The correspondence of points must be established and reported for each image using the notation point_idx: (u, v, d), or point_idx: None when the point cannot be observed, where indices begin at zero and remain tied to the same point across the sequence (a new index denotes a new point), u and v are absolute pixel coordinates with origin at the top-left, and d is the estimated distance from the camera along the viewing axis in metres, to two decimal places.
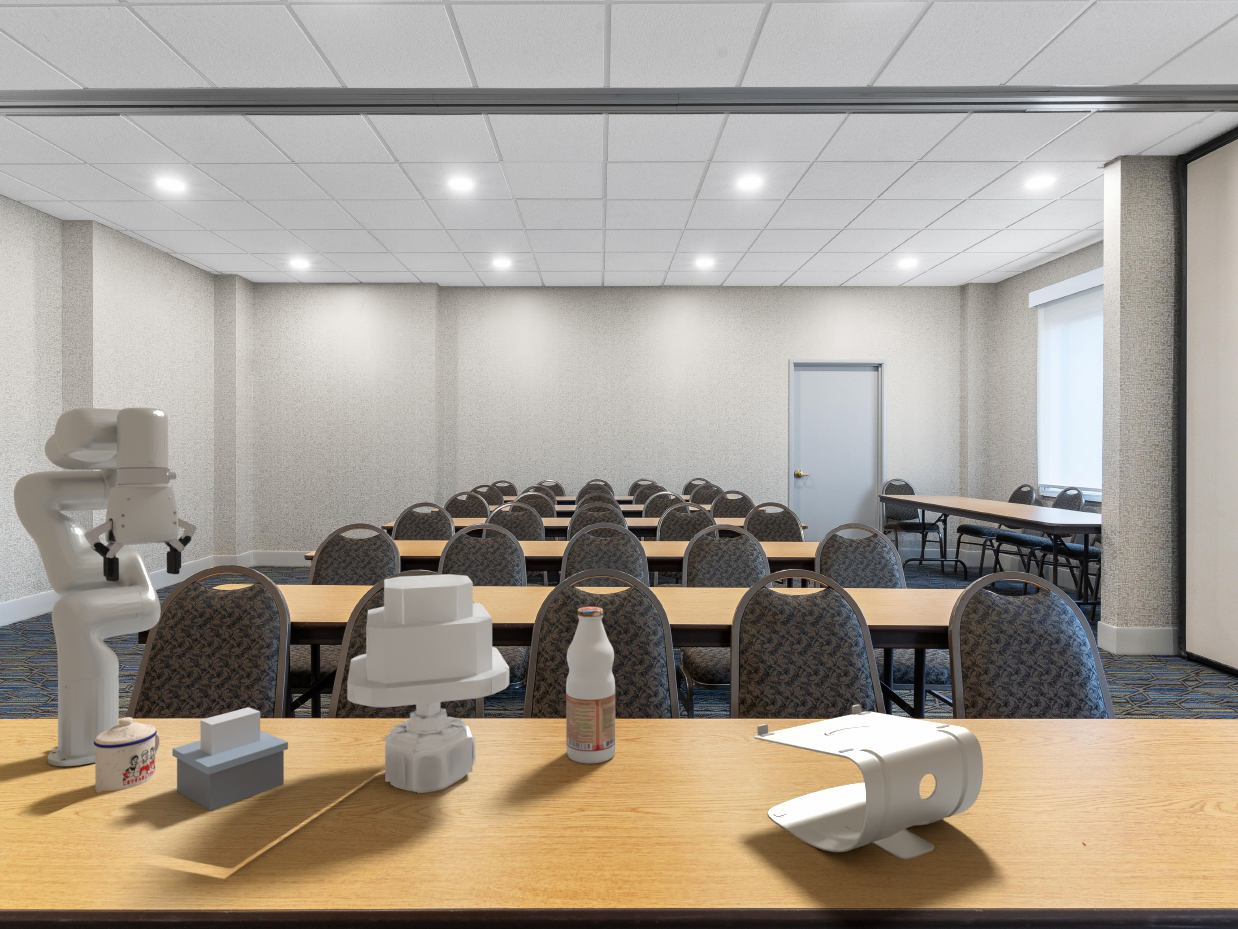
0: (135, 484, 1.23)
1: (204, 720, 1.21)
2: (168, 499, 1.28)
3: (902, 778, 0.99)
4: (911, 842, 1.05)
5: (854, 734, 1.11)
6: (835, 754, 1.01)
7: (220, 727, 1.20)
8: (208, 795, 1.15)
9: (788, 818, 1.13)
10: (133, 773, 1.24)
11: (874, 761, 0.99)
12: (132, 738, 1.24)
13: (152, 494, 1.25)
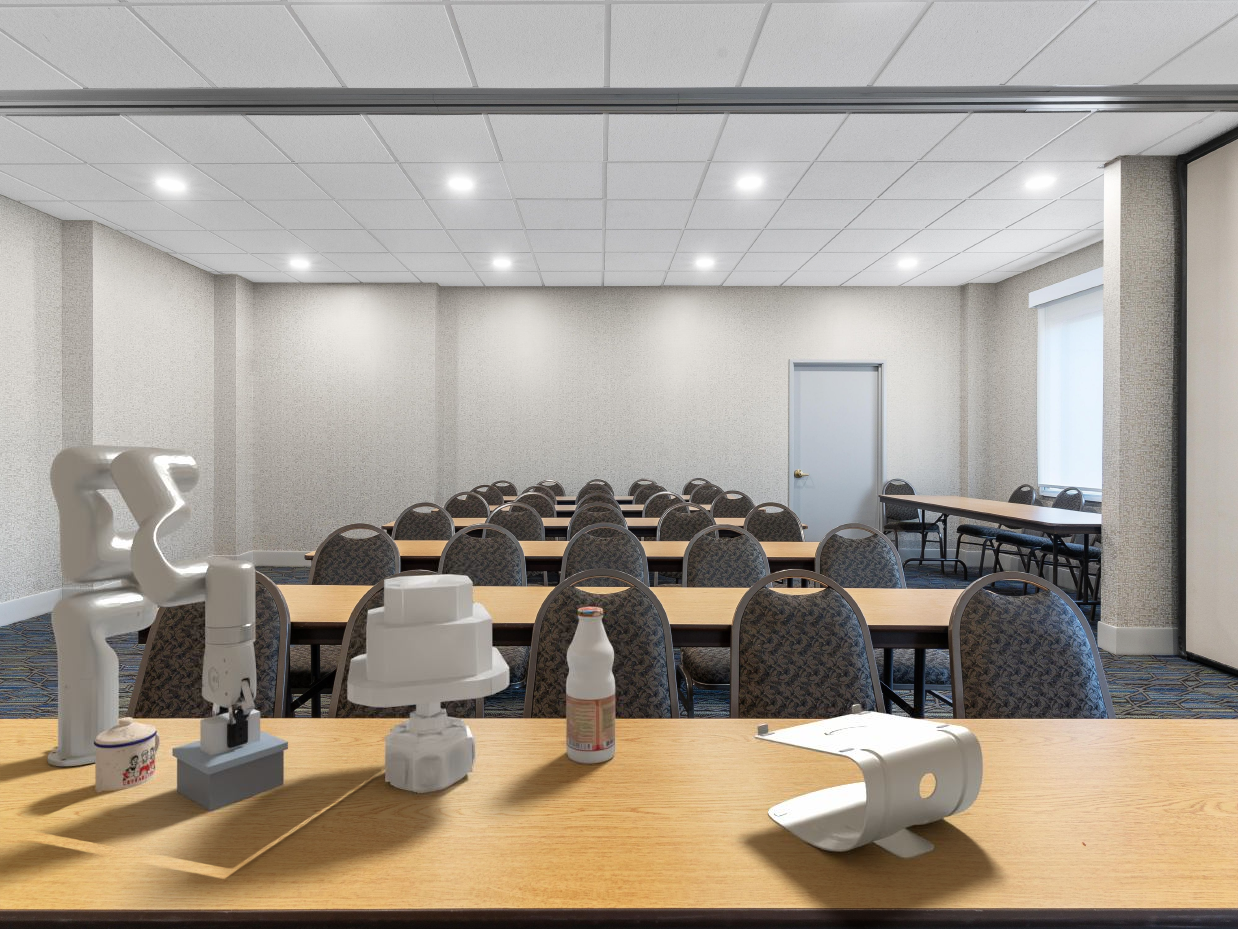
0: (254, 638, 1.24)
1: (204, 720, 1.21)
2: None
3: (902, 777, 0.99)
4: (911, 841, 1.06)
5: (854, 734, 1.11)
6: (835, 754, 1.01)
7: (220, 727, 1.20)
8: (208, 795, 1.15)
9: (788, 818, 1.13)
10: (133, 773, 1.24)
11: (874, 761, 0.99)
12: (132, 738, 1.24)
13: None
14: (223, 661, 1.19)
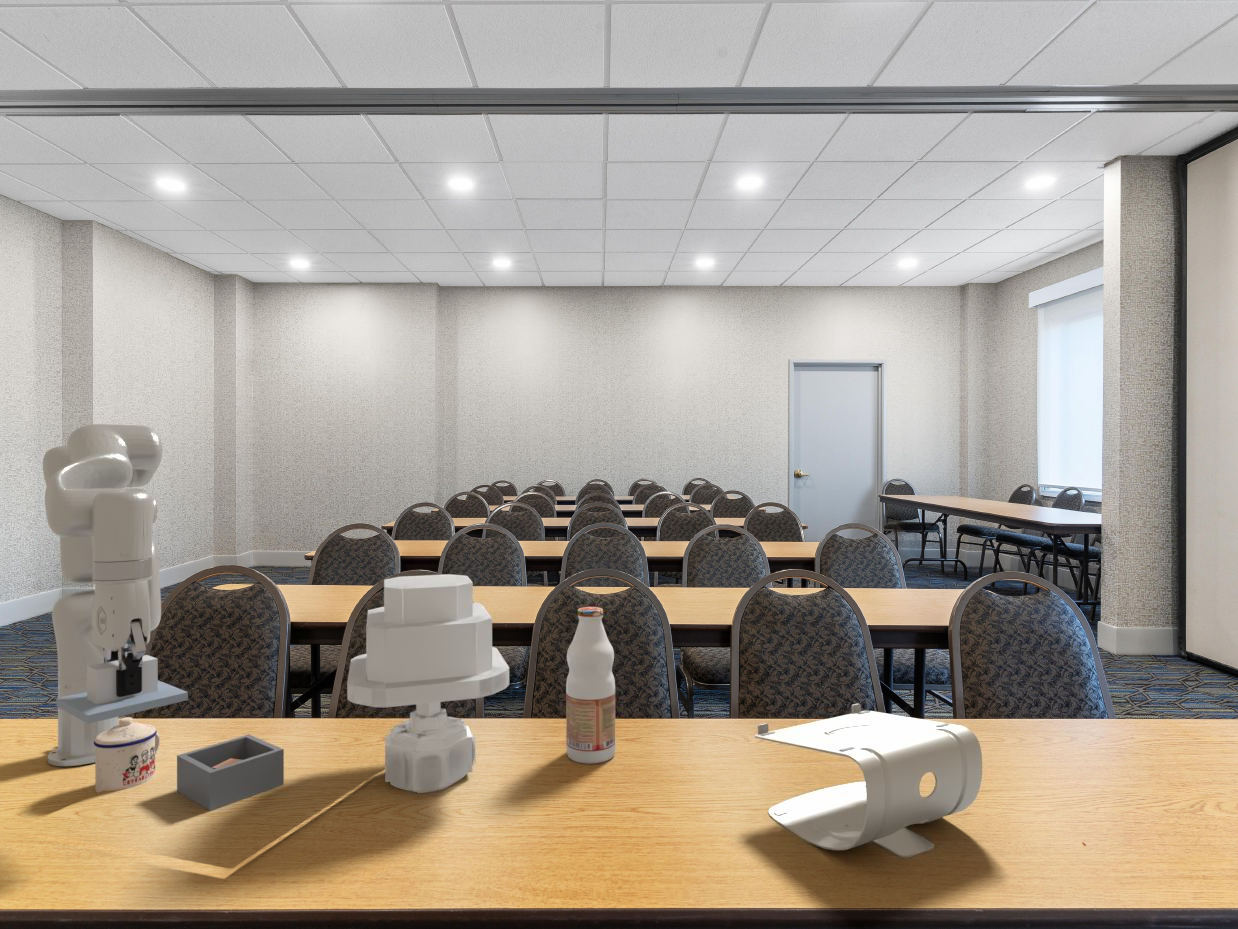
0: (150, 576, 1.11)
1: (91, 666, 1.08)
2: None
3: (902, 777, 1.00)
4: (911, 840, 1.06)
5: (854, 733, 1.12)
6: (836, 753, 1.01)
7: (107, 673, 1.07)
8: (208, 795, 1.15)
9: (788, 817, 1.13)
10: (133, 773, 1.24)
11: (875, 760, 0.99)
12: (132, 738, 1.24)
13: None
14: (110, 599, 1.06)
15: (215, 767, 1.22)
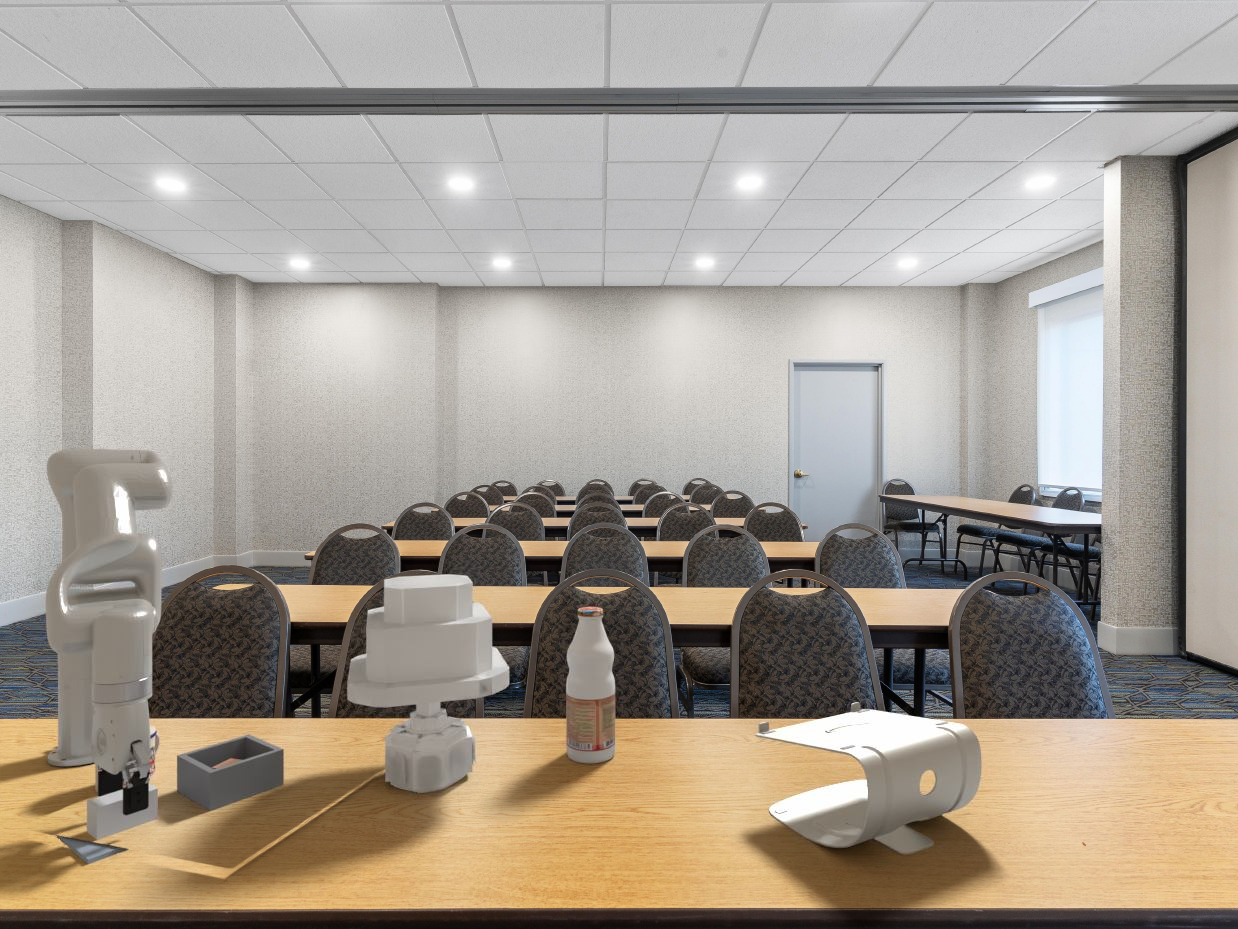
0: (150, 694, 1.11)
1: (91, 801, 1.08)
2: None
3: (903, 774, 1.00)
4: (911, 838, 1.07)
5: (854, 731, 1.12)
6: (837, 751, 1.02)
7: (108, 809, 1.07)
8: (208, 795, 1.15)
9: (789, 815, 1.14)
10: (133, 773, 1.24)
11: (875, 758, 1.00)
12: None
13: None
14: (110, 722, 1.06)
15: (215, 767, 1.22)
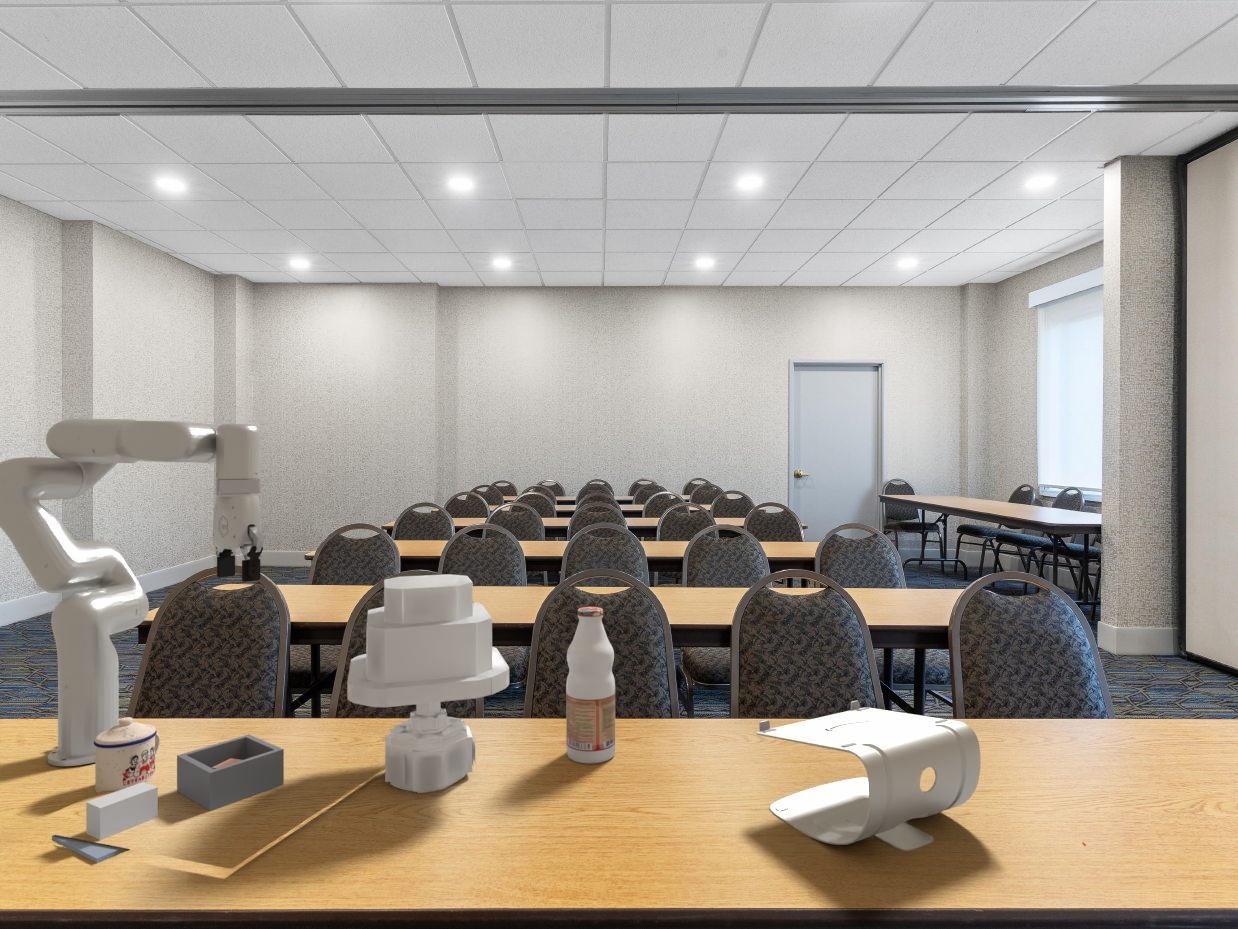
0: (259, 493, 1.39)
1: (91, 802, 1.08)
2: None
3: (903, 772, 1.01)
4: (911, 834, 1.08)
5: (855, 729, 1.13)
6: (838, 749, 1.03)
7: (110, 809, 1.07)
8: (208, 795, 1.15)
9: (790, 812, 1.15)
10: (133, 773, 1.24)
11: (876, 755, 1.01)
12: (132, 738, 1.24)
13: None
14: (232, 508, 1.34)
15: (215, 767, 1.22)
